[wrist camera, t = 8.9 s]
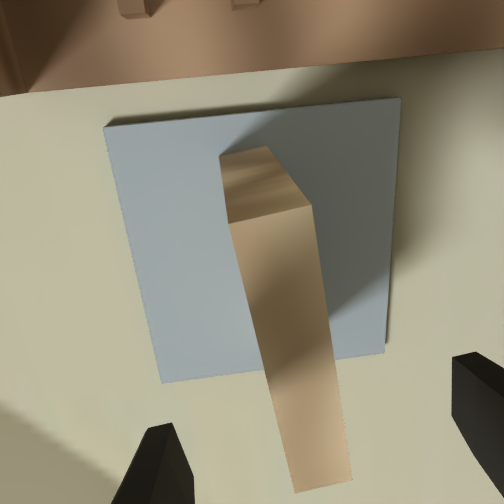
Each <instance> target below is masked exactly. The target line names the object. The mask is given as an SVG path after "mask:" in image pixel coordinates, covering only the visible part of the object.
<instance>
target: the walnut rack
mask: <svg viewBox="0 0 504 504" xmlns="http://www.w3.org/2000/svg"><path fill="white" fill-rule="evenodd" d="M499 48H504V0H0V97H3V96H9V95H16V94H23V93H30V92H41V91H52V90H62V89H73V88H84V87H94V86H105V85H115V84H126V83H137V82H147V81H158V80H169V79H179V78H190V77H201V76H211V75H222V74H233V73H243V72H254V71H265V70H275V69H286V68H297V67H307V66H318V65H329V64H339V63H350V62H360V61H371V60H382V59H392V58H403V57H414V56H424V55H435V54H446V53H456V52H467V51H478V50H488V49H499Z"/></svg>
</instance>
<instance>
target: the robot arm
mask: <svg viewBox="0 0 504 504" xmlns="http://www.w3.org/2000/svg"><path fill="white" fill-rule="evenodd" d="M452 417H453V419H454V421H455V423H456V425H457V426H458V428H459V430H460V432H461V434H462V436H463V437H464V439H465V441H466V443H467V444H468V446H469V448H470V450H471V451H472V453H473V455H474V456H475V458H476V459H477V461H478V462H479V464H480V465H481V466H482V468H483V469H484V471H485V472H486V473H487V475H488V476H489V478H490V479H491V481H492V482H493V483H494V485H495V486H496V488H497V489H498V490H499V492H500V493H501V495H502V496H503V497H504V368H502V367H501V366H499V365H497V364H496V363H494V362H493V361H491V360H489V359H488V358H486V357H484V356H482V355H481V354H479V353H477V352H472V353H468V354H463V355H459V356H455V357H452ZM111 504H195V496H194V476H193V473H192V471H191V468H190V466H189V463H188V461H187V458H186V456H185V453H184V451H183V449H182V446H181V444H180V441H179V439H178V436H177V434H176V431H175V429H174V426H173V424H172V423H167V424H163V425H159V426H155V427H150V428H148V429H147V430H146V432H145V434H144V436H143V438H142V440H141V443H140V445H139V447H138V449H137V451H136V453H135V456H134V458H133V460H132V462H131V464H130V466H129V468H128V470H127V472H126V475H125V477H124V479H123V481H122V483H121V485H120V487H119V489H118V491H117V493H116V495H115V497H114V499H113V500H112V503H111Z"/></svg>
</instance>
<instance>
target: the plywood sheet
mask: <svg viewBox="0 0 504 504" xmlns="http://www.w3.org/2000/svg"><path fill="white" fill-rule="evenodd" d="M219 162H220V169H221V176H222V183H223V190H224V197H225V204H226V212H227V219H228V225H229V229H230V233H231V237H232V241H233V245H234V249H235V253H236V257H237V261H238V265H239V269H240V273H241V277H242V281H243V285H244V290H245V294H246V298H247V302H248V306H249V310H250V314H251V318H252V322H253V326H254V330H255V334H256V338H257V342H258V346H259V350H260V354H261V358H262V362H263V366H264V370H265V374H266V378H267V382H268V386H269V390H270V394H271V398H272V402H273V406H274V411H275V415H276V419H277V423H278V427H279V431H280V435H281V439H282V443H283V447H284V451H285V455H286V459H287V463H288V467H289V471H290V475H291V479H292V483H293V487H294V491H295V493H299V492H303V491H308V490H312V489H316V488H320V487H325V486H329V485H333V484H337V483H341V482H346V481H350V480H352V473H351V466H350V459H349V453H348V446H347V439H346V433H345V426H344V419H343V413H342V406H341V399H340V393H339V386H338V379H337V372H336V366H335V359H334V352H333V346H332V339H331V332H330V326H329V319H328V312H327V305H326V299H325V292H324V285H323V279H322V272H321V265H320V259H319V252H318V245H317V238H316V232H315V225H314V218H313V212H312V205H311V204H310V202H309V201H308V200H307V198H306V197H305V196H304V194H303V193H302V192H301V190H300V189H299V188H298V187H297V185H296V184H295V183H294V181H293V180H292V179H291V177H290V176H289V175H288V173H287V172H286V171H285V169H284V168H283V167H282V165H281V164H280V163H279V162H278V160H277V159H276V158H275V156H274V155H273V154H272V152H271V151H270V150H269V148H268V147H267V146H266V145H263V146H259V147H255V148H250V149H246V150H242V151H237V152H233V153H229V154H224V155H220V156H219Z"/></svg>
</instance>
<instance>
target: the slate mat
mask: <svg viewBox="0 0 504 504" xmlns="http://www.w3.org/2000/svg"><path fill="white" fill-rule="evenodd" d="M400 112H401V98H399V97H391V98H381V99H371V100H361V101H351V102H341V103H331V104H321V105H311V106H301V107H291V108H281V109H271V110H261V111H251V112H241V113H231V114H221V115H211V116H201V117H191V118H181V119H171V120H161V121H150V122H140V123H130V124H120V125H110V126H104V127H103V132H104V137H105V141H106V145H107V150H108V154H109V158H110V163H111V167H112V171H113V176H114V180H115V184H116V189H117V193H118V197H119V202H120V206H121V210H122V215H123V219H124V223H125V228H126V232H127V236H128V241H129V245H130V249H131V254H132V258H133V262H134V267H135V271H136V275H137V280H138V284H139V288H140V293H141V297H142V301H143V306H144V310H145V314H146V318H147V323H148V327H149V331H150V336H151V340H152V344H153V349H154V353H155V357H156V362H157V366H158V370H159V375H160V379H161V383H162V384H163V383H171V382H178V381H185V380H192V379H200V378H207V377H214V376H222V375H229V374H236V373H243V372H251V371H258V370H264V366H263V362H262V358H261V354H260V350H259V346H258V342H257V338H256V334H255V330H254V326H253V322H252V318H251V314H250V310H249V306H248V302H247V298H246V294H245V290H244V285H243V281H242V277H241V273H240V269H239V265H238V261H237V257H236V253H235V249H234V245H233V241H232V237H231V233H230V229H229V225H228V219H227V212H226V204H225V197H224V190H223V183H222V176H221V169H220V162H219V156H220V155H224V154H229V153H233V152H237V151H242V150H246V149H250V148H255V147H259V146H263V145H266V146H267V147H268V148H269V150H270V151H271V152H272V154H273V155H274V156H275V158H276V159H277V160H278V162H279V163H280V164H281V165H282V167H283V168H284V169H285V171H286V172H287V173H288V175H289V176H290V177H291V179H292V180H293V181H294V183H295V184H296V185H297V187H298V188H299V189H300V190H301V192H302V193H303V194H304V196H305V197H306V198H307V200H308V201H309V202H310V204H311V205H312V212H313V218H314V225H315V232H316V238H317V245H318V252H319V259H320V265H321V272H322V279H323V285H324V292H325V299H326V305H327V312H328V319H329V326H330V332H331V339H332V346H333V352H334V359H335V360H338V359H346V358H353V357H360V356H368V355H375V354H382V353H384V351H385V336H386V321H387V306H388V291H389V276H390V261H391V246H392V231H393V217H394V202H395V187H396V172H397V157H398V142H399V127H400Z"/></svg>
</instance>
